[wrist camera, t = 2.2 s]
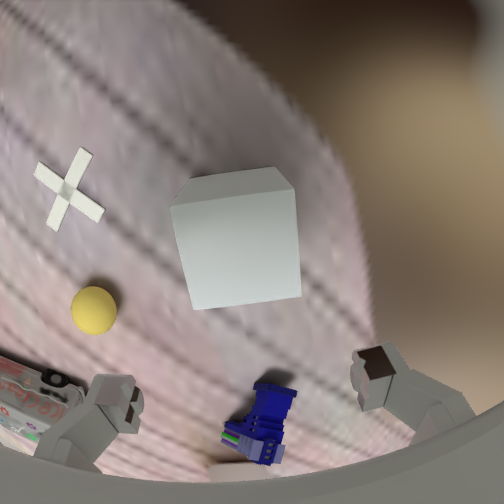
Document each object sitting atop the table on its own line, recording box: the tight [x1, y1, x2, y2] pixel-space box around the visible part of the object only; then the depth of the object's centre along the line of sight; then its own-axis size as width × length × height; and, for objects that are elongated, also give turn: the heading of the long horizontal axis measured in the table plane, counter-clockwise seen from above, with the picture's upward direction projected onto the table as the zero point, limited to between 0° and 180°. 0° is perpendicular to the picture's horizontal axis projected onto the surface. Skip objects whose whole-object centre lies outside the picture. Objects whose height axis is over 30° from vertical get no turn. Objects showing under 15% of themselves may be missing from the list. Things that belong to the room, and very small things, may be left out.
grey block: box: [169, 167, 301, 310], centre depth 23 cm, size 7×7×9 cm
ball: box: [71, 286, 117, 335], centre depth 27 cm, size 5×5×5 cm
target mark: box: [34, 147, 105, 232], centre depth 25 cm, size 9×9×1 cm
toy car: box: [0, 356, 86, 443], centre depth 31 cm, size 11×25×10 cm, turn 77°
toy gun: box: [221, 383, 297, 466], centre depth 36 cm, size 4×13×10 cm
